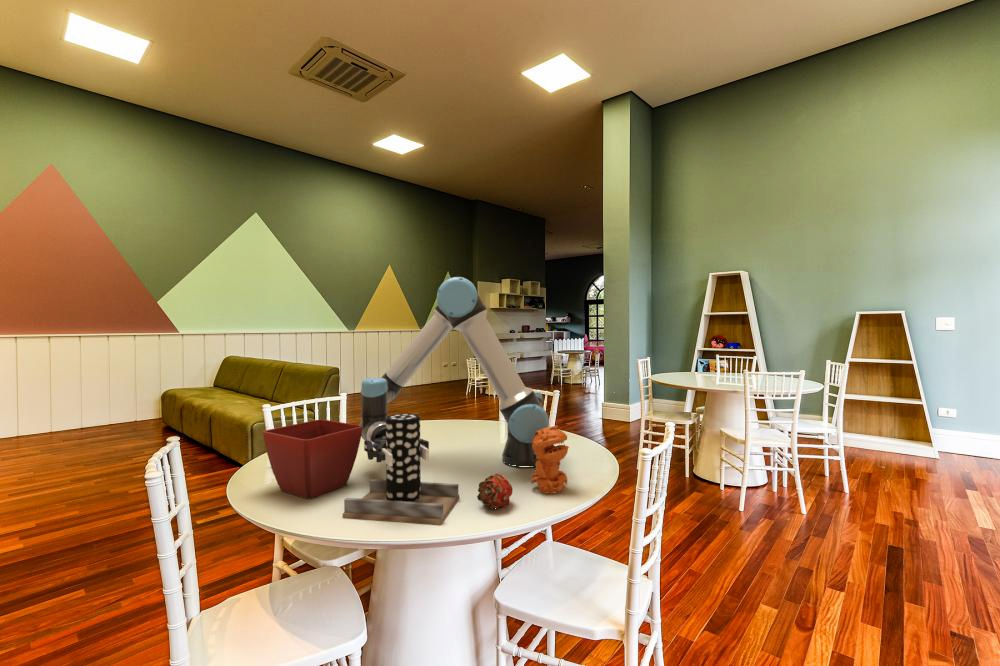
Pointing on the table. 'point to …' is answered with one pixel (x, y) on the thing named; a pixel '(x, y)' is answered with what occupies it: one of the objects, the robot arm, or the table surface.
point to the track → (404, 504)
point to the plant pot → (312, 455)
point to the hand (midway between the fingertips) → (409, 457)
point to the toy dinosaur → (549, 459)
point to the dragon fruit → (495, 491)
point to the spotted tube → (403, 457)
